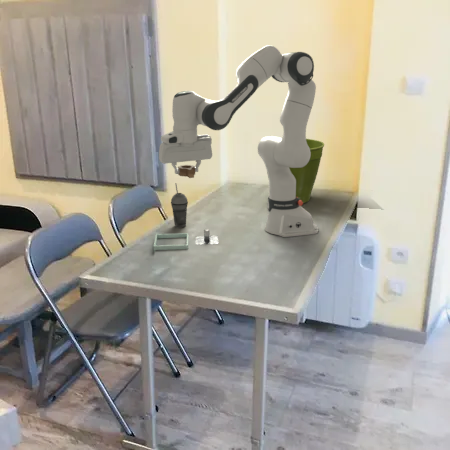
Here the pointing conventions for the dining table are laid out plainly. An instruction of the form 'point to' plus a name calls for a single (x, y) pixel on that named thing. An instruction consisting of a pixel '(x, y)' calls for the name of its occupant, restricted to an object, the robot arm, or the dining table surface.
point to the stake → (206, 238)
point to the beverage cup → (179, 209)
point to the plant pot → (308, 171)
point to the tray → (167, 247)
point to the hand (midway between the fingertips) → (186, 172)
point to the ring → (187, 171)
